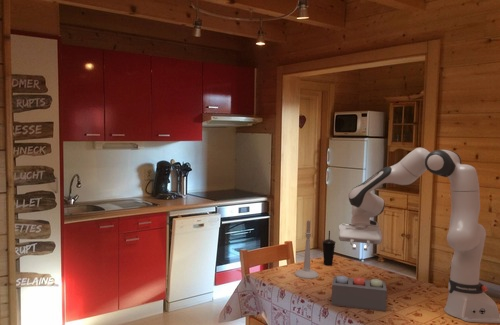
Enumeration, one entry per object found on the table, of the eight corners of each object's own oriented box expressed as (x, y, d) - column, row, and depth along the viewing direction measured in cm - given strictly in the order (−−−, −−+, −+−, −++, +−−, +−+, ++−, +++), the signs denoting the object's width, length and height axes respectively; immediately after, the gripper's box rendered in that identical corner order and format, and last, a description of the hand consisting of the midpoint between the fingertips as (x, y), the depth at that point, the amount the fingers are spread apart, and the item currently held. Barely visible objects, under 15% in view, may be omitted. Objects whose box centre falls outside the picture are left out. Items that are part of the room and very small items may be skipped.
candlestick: (293, 271, 237) (295, 217, 236) (317, 272, 237) (319, 218, 235) (295, 278, 224) (297, 221, 223) (320, 279, 224) (322, 222, 222)
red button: (364, 285, 194) (364, 277, 194) (364, 289, 189) (364, 281, 189) (353, 284, 195) (353, 276, 195) (353, 287, 190) (353, 280, 190)
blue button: (347, 283, 195) (347, 276, 195) (347, 287, 191) (347, 279, 191) (336, 282, 197) (336, 275, 196) (336, 285, 192) (336, 278, 192)
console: (384, 301, 195) (384, 281, 195) (385, 311, 184) (386, 290, 183) (332, 295, 201) (333, 276, 200) (331, 304, 189) (332, 284, 189)
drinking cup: (330, 262, 256) (331, 229, 255) (337, 265, 249) (338, 231, 248) (319, 263, 254) (320, 229, 253) (325, 267, 247) (327, 232, 246)
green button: (381, 287, 192) (381, 279, 192) (382, 290, 187) (382, 283, 187) (370, 286, 193) (370, 278, 193) (370, 289, 188) (371, 281, 188)
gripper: (339, 219, 212) (337, 243, 203) (382, 222, 208) (382, 247, 199) (338, 227, 217) (337, 250, 208) (381, 230, 212) (381, 254, 203)
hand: (359, 249), depth 203 cm, fingers open, 4 cm apart
